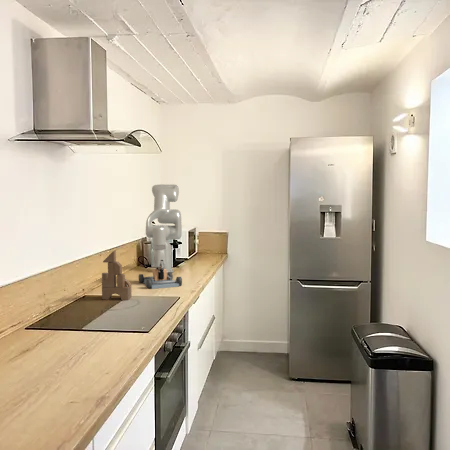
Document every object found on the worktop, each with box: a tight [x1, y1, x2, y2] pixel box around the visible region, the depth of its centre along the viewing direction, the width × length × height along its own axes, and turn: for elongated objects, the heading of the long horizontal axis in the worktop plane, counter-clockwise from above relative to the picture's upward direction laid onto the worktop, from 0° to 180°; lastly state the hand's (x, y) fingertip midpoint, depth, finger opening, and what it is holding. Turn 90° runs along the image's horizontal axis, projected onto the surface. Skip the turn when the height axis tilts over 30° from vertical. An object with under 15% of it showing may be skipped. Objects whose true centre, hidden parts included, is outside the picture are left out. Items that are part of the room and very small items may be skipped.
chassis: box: [138, 272, 183, 290], centre depth 278 cm, size 24×20×5 cm
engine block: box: [152, 268, 167, 281], centre depth 278 cm, size 5×7×6 cm
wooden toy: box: [101, 250, 133, 301], centre depth 240 cm, size 16×7×25 cm, turn 83°
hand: (159, 277), depth 278 cm, fingers closed on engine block, 4 cm apart
